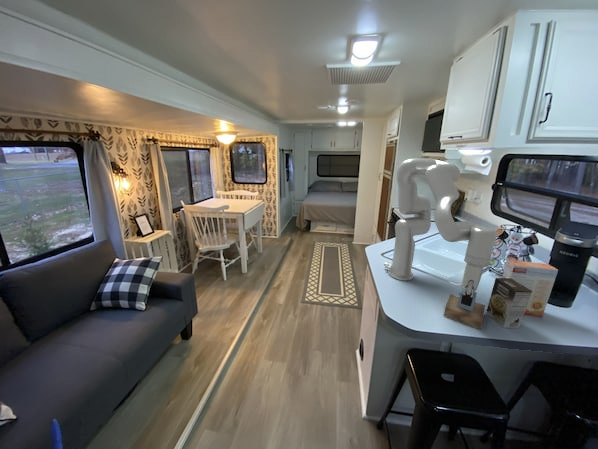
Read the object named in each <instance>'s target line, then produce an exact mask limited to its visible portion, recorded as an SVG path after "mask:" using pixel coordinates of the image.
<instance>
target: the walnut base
mask: <svg viewBox="0 0 598 449" xmlns="http://www.w3.org/2000/svg"><path fill="white" fill-rule="evenodd" d="M458 300H459V296H457V295H456V294H455V295H454V294H452V293H450V294H449V297H448V300H447V302H446V305H445V307H444V312H443V316H444V317H446V318H449V319H451V320H454V321H457V322H459V323H461V324H465V325H468V326H470V327H472V328H476V329H478V330H481V329H482V326H483V323H484V322H483V321H484V318H485V317H484V316H485V307H486V305H485V304H482V303H480V302H477V301H475V303H474V307H473V311H469V310H466V309H463V308H460V307H457V304H458Z"/></svg>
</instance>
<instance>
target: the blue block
mask: <svg viewBox="0 0 598 449" xmlns="http://www.w3.org/2000/svg"><path fill="white" fill-rule="evenodd" d="M464 290H465V288H462V287H461V290H460V293H459V296H458V297H459V300H458V304H457V307H460V308H463V309H466V310H469V311H473V307H474V303H475V302H476V298H477V294H478V292H477V291H474V292H473V296H472V297H473V300H472V304H471V306H467V305H464V304H461V299H462V295H463V294H464ZM466 291H467V290H466ZM471 292H472V291H471Z"/></svg>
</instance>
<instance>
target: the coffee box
mask: <svg viewBox="0 0 598 449" xmlns="http://www.w3.org/2000/svg"><path fill="white" fill-rule="evenodd" d="M531 293H532V291H531V290H530V289H528V288H526V287H525V286H523V285H521V284H520V283H518V282H516V281H515V280H513V279H511V278H502V277H495V279H494V283H493V285H492V290H491V294H490V297H489V300H488V303H487V307H486V311H485V314H487V315H488V316H489V317H490V318H492V319H493V320H494V321H495V322H496V323H497V324H498V325H499V326H500V327H502V328H505V329H508V328H509V329H520V326H521V324H522V320H523V319H524V318H523V317H524V316H525V314H524V313H525V310H526V307H527V304H528V302H529V299H530V296H531Z"/></svg>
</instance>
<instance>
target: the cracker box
mask: <svg viewBox="0 0 598 449" xmlns="http://www.w3.org/2000/svg"><path fill="white" fill-rule="evenodd" d="M558 271H559V269H557V268H556V267H554V266H552V265H551V264H549V263H542V262H534V261H533V262H532V261H524V260H523V261H522V260H512V259H507V260H506V264H505V265H504V270H503V273H502V277H501V278H511V279H513V280H515V281H516V282H518V283H520V284H521V285H523V286H525V287H526V288H528V289H530V290H531V291H532V293H531V296H530V299H529V302H528V304H527V307H526V310H525V313H524V315H530V316H538V317H543V316H544V313H545V310H546V307H547V305H548V302H549V298H550V296H551V293H552V289H553V287H554V284H555V281H556V277H557V275H558V273H559V272H558Z"/></svg>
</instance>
